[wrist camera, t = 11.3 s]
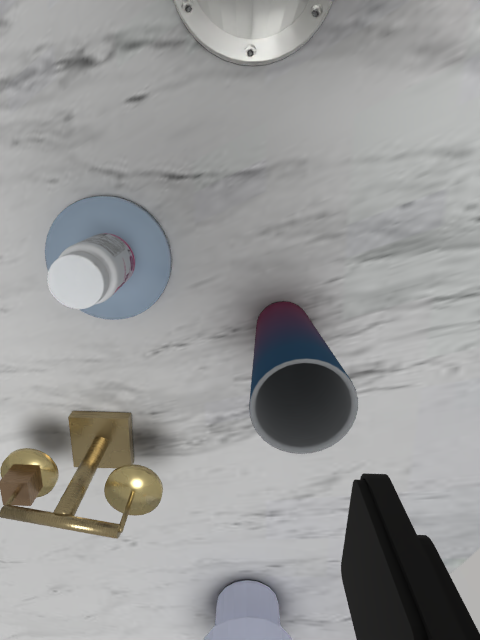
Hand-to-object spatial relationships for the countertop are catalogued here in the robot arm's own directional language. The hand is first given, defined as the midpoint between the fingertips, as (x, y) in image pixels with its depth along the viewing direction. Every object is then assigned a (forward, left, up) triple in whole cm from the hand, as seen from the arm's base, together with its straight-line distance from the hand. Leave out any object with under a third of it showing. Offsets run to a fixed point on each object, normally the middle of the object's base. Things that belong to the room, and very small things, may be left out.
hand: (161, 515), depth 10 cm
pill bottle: (0, -10, -30) cm, 31 cm away
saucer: (0, -10, -30) cm, 32 cm away
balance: (+19, -12, -30) cm, 38 cm away
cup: (+6, +6, -31) cm, 32 cm away
